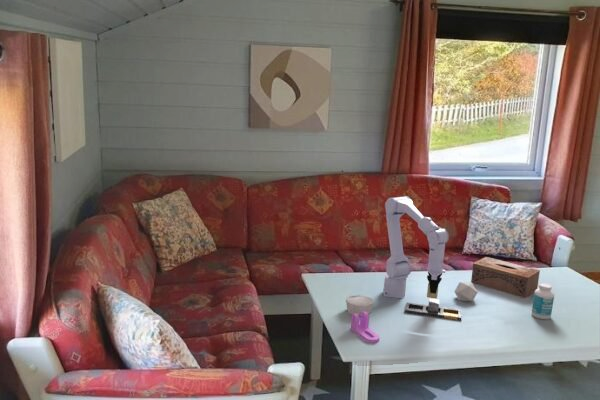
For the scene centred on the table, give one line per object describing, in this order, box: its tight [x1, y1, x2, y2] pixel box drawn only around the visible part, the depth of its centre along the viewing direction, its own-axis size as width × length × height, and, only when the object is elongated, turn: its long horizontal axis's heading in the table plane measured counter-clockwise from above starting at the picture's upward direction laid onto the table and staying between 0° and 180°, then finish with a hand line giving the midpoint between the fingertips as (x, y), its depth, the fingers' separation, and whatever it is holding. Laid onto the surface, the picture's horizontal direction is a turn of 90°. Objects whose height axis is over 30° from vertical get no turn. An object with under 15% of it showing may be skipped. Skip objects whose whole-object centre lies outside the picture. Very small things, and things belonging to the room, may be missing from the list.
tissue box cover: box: [470, 256, 541, 299], centre depth 257 cm, size 26×14×10 cm, turn 48°
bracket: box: [349, 312, 380, 344], centre depth 202 cm, size 13×6×7 cm, turn 26°
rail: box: [404, 302, 462, 322], centre depth 223 cm, size 22×8×2 cm, turn 75°
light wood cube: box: [426, 281, 439, 300], centre depth 221 cm, size 4×4×5 cm
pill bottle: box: [531, 282, 555, 320], centre depth 224 cm, size 8×7×14 cm
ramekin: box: [345, 294, 374, 317], centre depth 222 cm, size 11×11×5 cm
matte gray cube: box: [428, 298, 440, 313], centre depth 223 cm, size 4×4×5 cm
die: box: [454, 281, 478, 302], centre depth 238 cm, size 8×9×10 cm
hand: (433, 291), depth 221 cm, fingers closed on light wood cube, 4 cm apart
